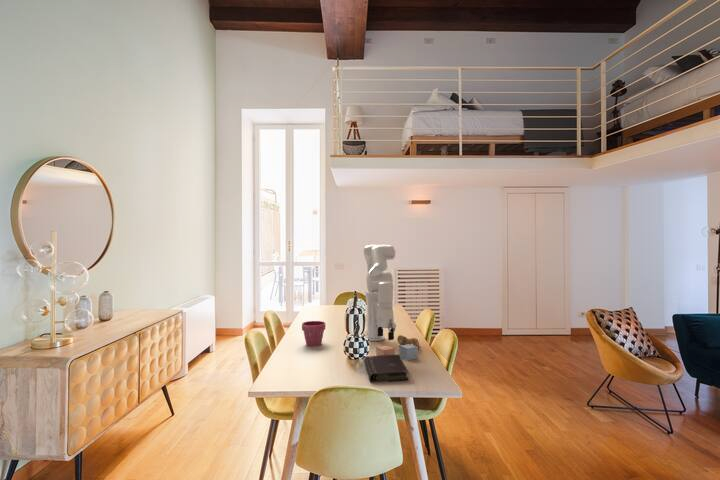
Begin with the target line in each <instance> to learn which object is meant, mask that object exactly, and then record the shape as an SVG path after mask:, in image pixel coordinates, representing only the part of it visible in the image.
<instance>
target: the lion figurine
mask: <svg viewBox="0 0 720 480" xmlns="http://www.w3.org/2000/svg"><path fill="white" fill-rule="evenodd" d="M396 340H397V343H398V344H399V346H401V345H406V344H411V345H413V346H416V347H417V351H420V349H421V346H420V343H419V339H417V338H416V337H411V338H407V337H406V336H404V335H402V334H400V335H399V334H398V336H397V338H396Z"/></svg>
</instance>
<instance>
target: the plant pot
mask: <svg viewBox="0 0 720 480" xmlns="http://www.w3.org/2000/svg"><path fill="white" fill-rule="evenodd" d="M301 330H302V331H303V335H304V339H305V343H306V346H310V347H317V346H321V345H322V344H323V343H322V342H323V337H324V332H325V330H326V322H325V321H321V320H311V321H309V320H308V321H304V322H302V324H301Z"/></svg>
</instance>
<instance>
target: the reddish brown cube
mask: <svg viewBox="0 0 720 480" xmlns="http://www.w3.org/2000/svg"><path fill="white" fill-rule="evenodd" d="M375 350H376V351H375V352H376V355H375V356H378V355H396V354H395V353H396V352H395V351H396V349H395V347H392V346H390V345H382V346H377V347H376V349H375Z"/></svg>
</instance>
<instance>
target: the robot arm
mask: <svg viewBox="0 0 720 480" xmlns="http://www.w3.org/2000/svg"><path fill="white" fill-rule="evenodd" d="M363 256H364V259H365V261H366V265H367V266H366V267H367V274H366V288H367V290H366V291H365V302H366V330H365V332H364V333H365V334H366V335H365V336H364V338H365V337H367V338H368V339H369V340H368V341H371V342H378V341H383V340H385V336H384V329H387V330H388V332H387V333H388V334H387V337H388V338H387V341H394V339H395V331H396V327H397V324H396V323H395V321H394V320H395V318H394V309H393V305H394V304H393V299H394V280H393V279H394V277H393V274H392V272H390V271H387V269H388V263H387V262H388V261H390V260H394V259H395V258H396V249H395V247H394V246H393V245H390V244H370V245H368V244H367V245H366V246H364V248H363Z"/></svg>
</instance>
